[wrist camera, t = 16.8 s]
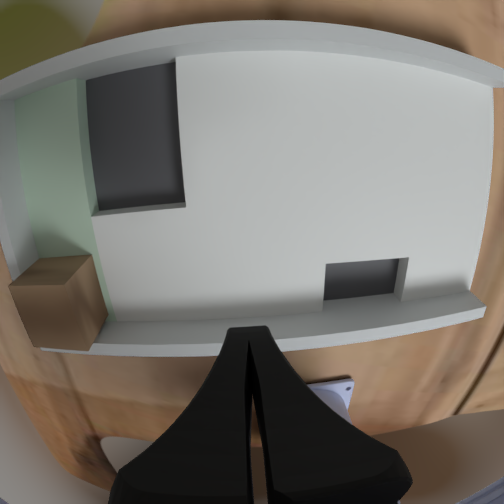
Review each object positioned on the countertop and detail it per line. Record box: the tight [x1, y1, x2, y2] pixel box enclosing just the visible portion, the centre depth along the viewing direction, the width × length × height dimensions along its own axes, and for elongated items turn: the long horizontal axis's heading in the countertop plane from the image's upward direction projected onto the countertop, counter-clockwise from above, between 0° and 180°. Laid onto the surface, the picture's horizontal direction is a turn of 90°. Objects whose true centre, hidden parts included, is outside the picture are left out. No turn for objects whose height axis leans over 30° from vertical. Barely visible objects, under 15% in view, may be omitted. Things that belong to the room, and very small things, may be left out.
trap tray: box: [0, 20, 504, 357], centre depth 17 cm, size 18×33×4 cm, turn 93°
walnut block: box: [9, 255, 109, 351], centre depth 17 cm, size 4×4×4 cm
